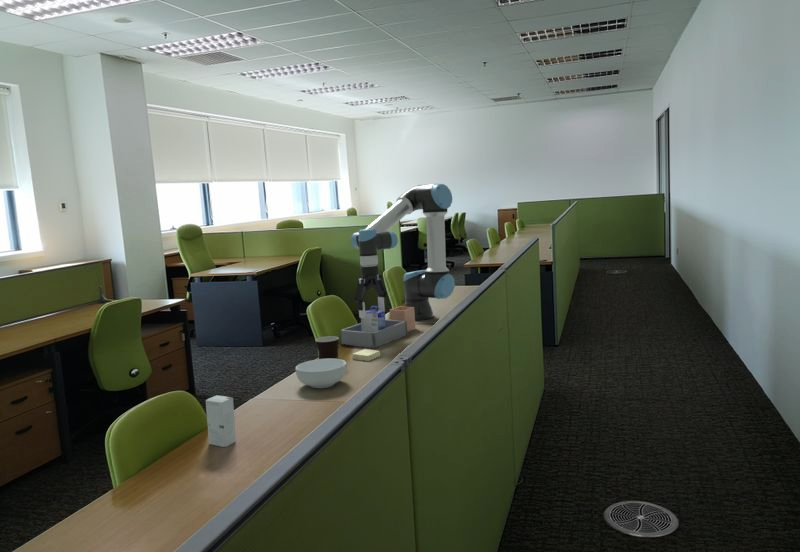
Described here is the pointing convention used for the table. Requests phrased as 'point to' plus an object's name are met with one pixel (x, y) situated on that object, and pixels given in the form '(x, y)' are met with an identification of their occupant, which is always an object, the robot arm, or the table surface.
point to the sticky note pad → (366, 354)
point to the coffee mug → (327, 347)
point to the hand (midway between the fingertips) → (372, 314)
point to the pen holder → (404, 316)
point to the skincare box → (220, 421)
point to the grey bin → (373, 334)
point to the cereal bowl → (321, 372)
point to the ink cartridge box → (373, 320)
